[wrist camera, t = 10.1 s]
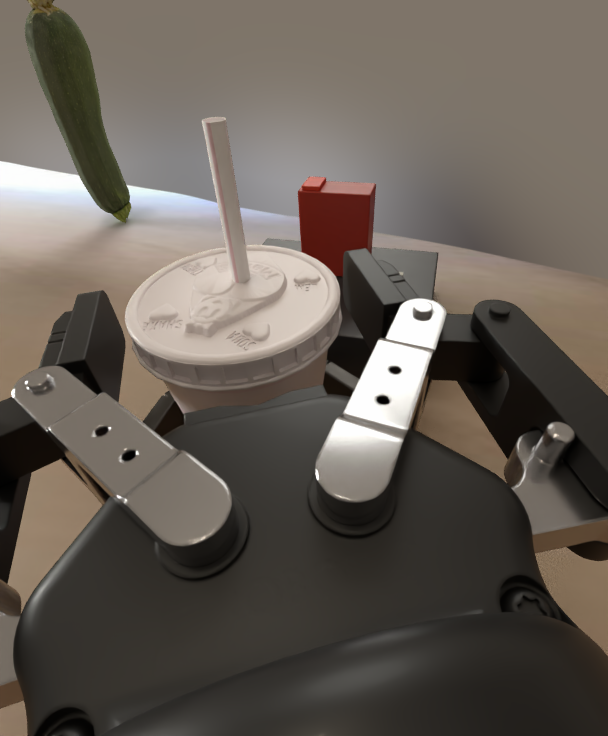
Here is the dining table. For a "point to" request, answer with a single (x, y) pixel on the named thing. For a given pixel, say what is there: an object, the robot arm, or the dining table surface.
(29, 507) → the dining table surface
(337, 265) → the knob
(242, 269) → the smoothie
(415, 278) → the panel
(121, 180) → the vegetable
